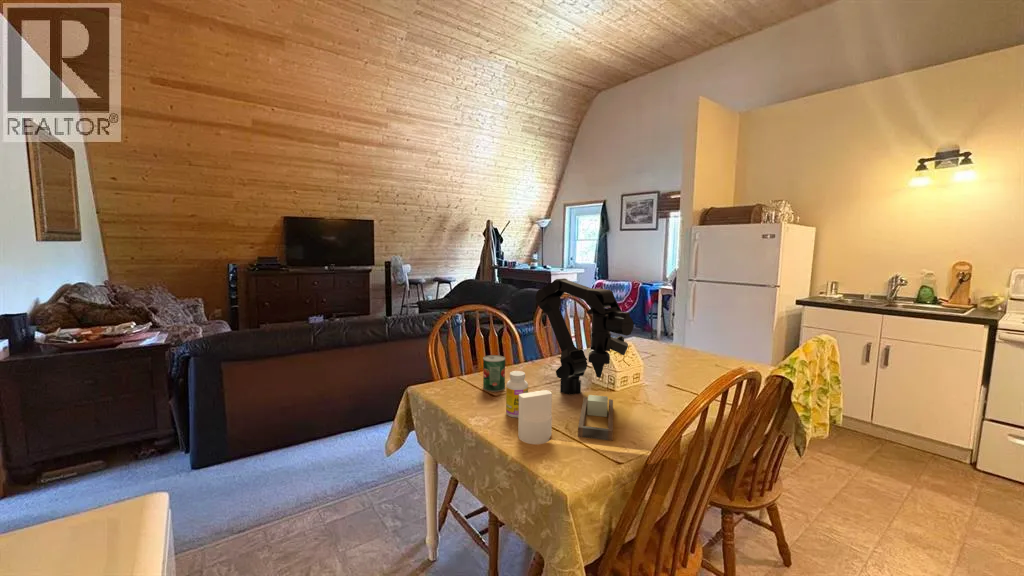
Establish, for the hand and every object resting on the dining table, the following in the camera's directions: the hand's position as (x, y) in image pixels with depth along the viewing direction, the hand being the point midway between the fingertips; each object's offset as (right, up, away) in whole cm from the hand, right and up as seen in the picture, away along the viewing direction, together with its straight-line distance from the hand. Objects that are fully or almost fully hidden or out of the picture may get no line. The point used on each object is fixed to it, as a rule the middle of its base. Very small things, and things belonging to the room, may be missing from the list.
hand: (598, 377), depth 134 cm
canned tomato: (-34, -8, +16) cm, 39 cm away
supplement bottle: (-26, -10, -6) cm, 29 cm away
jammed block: (-2, -9, -7) cm, 12 cm away
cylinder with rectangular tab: (-22, -12, -20) cm, 32 cm away
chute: (-3, -11, -13) cm, 17 cm away
